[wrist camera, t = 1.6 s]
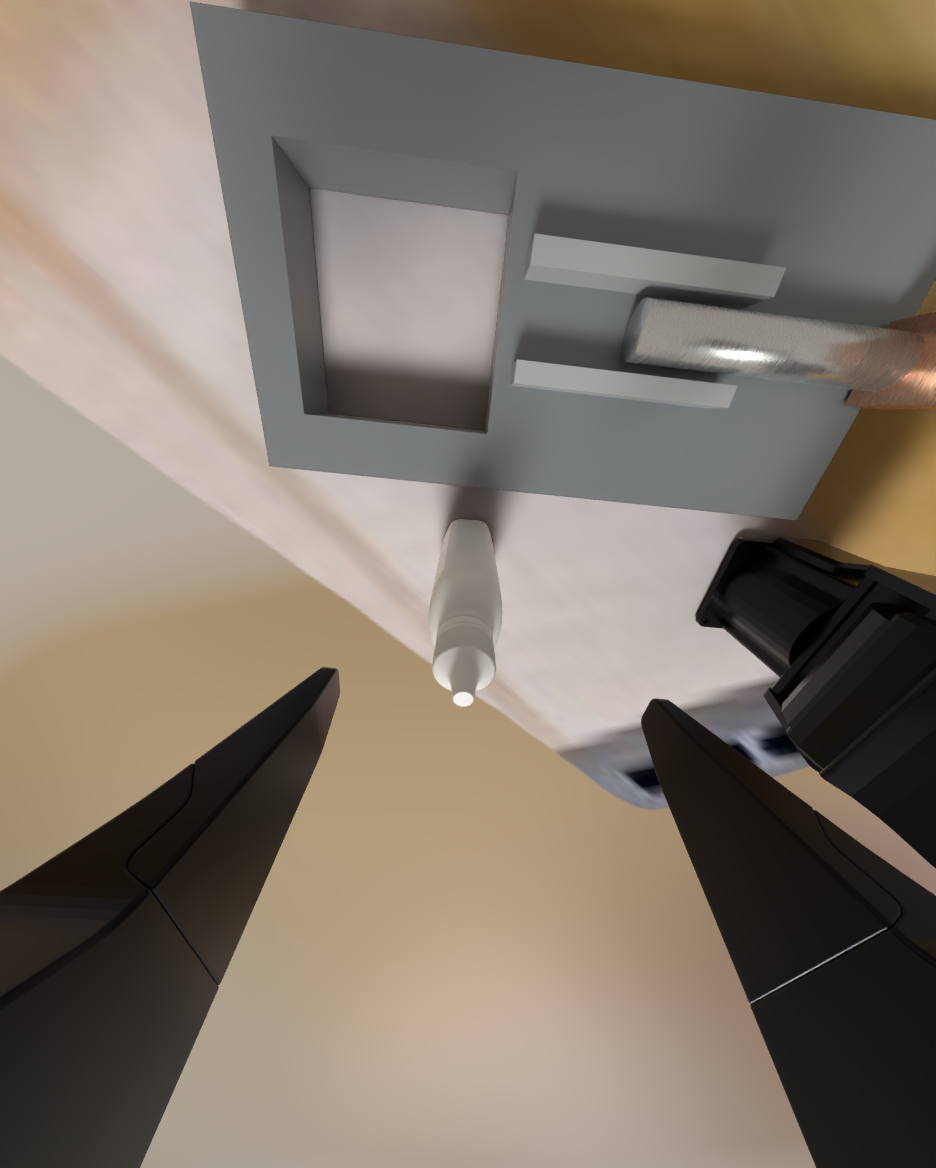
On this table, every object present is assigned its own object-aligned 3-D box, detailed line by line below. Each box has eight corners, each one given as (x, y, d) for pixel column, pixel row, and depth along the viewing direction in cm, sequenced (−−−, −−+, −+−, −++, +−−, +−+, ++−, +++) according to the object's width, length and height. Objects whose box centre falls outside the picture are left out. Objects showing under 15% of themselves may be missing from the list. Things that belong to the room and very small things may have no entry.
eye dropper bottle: (416, 574, 22) (369, 722, 12) (461, 505, 20) (452, 610, 10) (470, 604, 24) (471, 764, 13) (518, 542, 21) (567, 674, 11)
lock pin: (872, 409, 15) (1001, 409, 11) (613, 378, 14) (661, 368, 11) (921, 326, 14) (1087, 296, 10) (636, 289, 13) (700, 243, 9)
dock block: (753, 505, 20) (823, 529, 16) (297, 458, 19) (251, 471, 15) (914, 185, 14) (1094, 95, 10) (248, 86, 13) (147, -61, 9)
